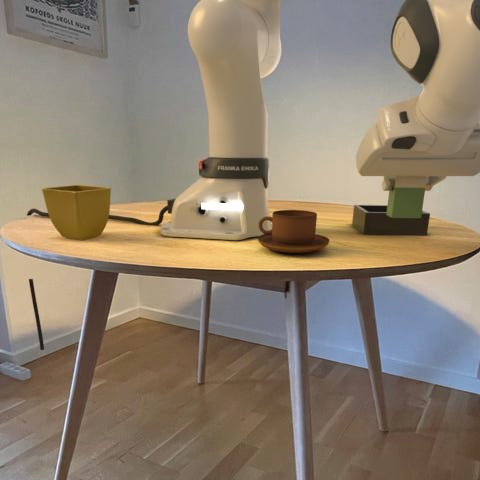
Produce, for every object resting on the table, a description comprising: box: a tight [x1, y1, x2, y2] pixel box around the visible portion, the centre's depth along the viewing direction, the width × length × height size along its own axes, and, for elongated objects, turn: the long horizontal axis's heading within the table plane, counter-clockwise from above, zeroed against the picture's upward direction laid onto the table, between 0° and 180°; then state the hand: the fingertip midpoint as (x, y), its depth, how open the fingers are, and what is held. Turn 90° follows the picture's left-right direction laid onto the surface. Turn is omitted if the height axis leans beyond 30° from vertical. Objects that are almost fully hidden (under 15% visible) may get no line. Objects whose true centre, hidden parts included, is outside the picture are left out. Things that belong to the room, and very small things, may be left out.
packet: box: [386, 176, 428, 218], centre depth 79 cm, size 5×4×9 cm
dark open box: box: [351, 204, 431, 236], centre depth 98 cm, size 13×12×4 cm
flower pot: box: [41, 184, 112, 241], centre depth 86 cm, size 9×9×9 cm
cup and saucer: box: [257, 209, 330, 254], centre depth 79 cm, size 12×12×6 cm
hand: (405, 187), depth 80 cm, fingers closed on packet, 5 cm apart
